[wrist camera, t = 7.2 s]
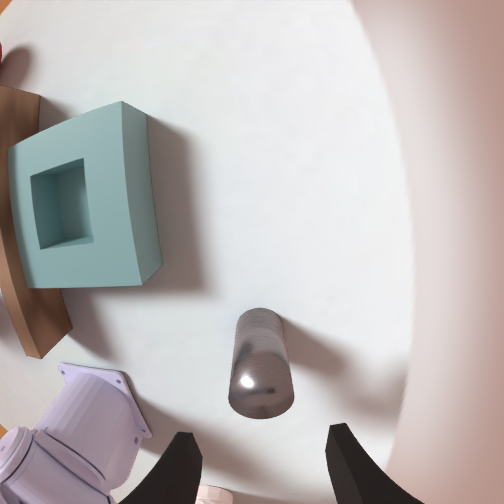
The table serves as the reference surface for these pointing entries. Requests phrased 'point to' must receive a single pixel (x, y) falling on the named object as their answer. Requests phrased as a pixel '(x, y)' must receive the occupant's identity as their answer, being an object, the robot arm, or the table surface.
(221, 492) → the white cup
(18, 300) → the wall
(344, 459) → the robot arm
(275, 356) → the dowel
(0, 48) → the onion
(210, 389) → the table surface
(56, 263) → the block
